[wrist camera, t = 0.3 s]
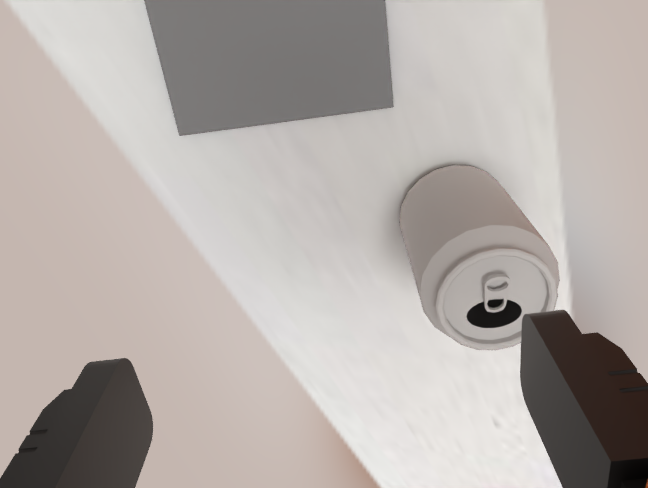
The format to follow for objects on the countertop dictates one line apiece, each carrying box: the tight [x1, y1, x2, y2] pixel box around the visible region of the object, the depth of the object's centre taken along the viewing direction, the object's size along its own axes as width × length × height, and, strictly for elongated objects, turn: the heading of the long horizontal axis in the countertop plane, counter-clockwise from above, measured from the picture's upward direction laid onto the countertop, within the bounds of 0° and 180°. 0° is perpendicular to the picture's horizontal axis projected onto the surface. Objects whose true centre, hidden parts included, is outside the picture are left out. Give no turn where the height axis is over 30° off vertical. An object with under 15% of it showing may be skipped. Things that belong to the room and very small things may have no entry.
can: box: [399, 165, 560, 350], centre depth 34 cm, size 8×8×12 cm
